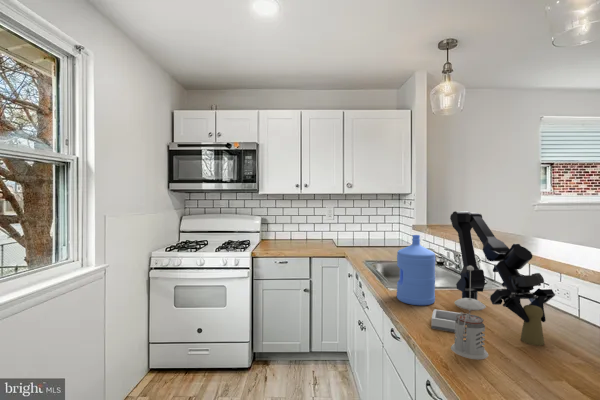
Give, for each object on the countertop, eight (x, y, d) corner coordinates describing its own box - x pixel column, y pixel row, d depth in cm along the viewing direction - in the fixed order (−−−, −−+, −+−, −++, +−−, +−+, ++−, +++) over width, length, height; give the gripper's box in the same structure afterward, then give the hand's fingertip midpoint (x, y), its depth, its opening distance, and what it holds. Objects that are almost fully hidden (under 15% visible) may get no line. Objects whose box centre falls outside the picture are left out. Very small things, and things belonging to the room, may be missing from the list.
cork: (521, 335, 106) (522, 301, 106) (544, 340, 103) (545, 305, 102) (519, 341, 102) (520, 306, 102) (543, 347, 98) (544, 310, 98)
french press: (493, 351, 96) (494, 265, 95) (480, 365, 87) (481, 272, 87) (458, 340, 103) (459, 260, 102) (442, 352, 94) (443, 266, 94)
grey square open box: (433, 318, 120) (433, 309, 120) (464, 323, 116) (464, 313, 116) (431, 328, 112) (431, 318, 111) (464, 334, 107) (464, 323, 107)
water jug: (440, 299, 142) (441, 235, 141) (425, 309, 130) (426, 238, 130) (406, 292, 153) (407, 232, 152) (390, 300, 141) (390, 235, 141)
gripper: (496, 264, 105) (521, 310, 94) (551, 263, 106) (582, 309, 96) (480, 282, 113) (502, 326, 102) (531, 281, 114) (558, 325, 104)
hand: (536, 321), depth 101 cm, fingers closed on cork, 5 cm apart
